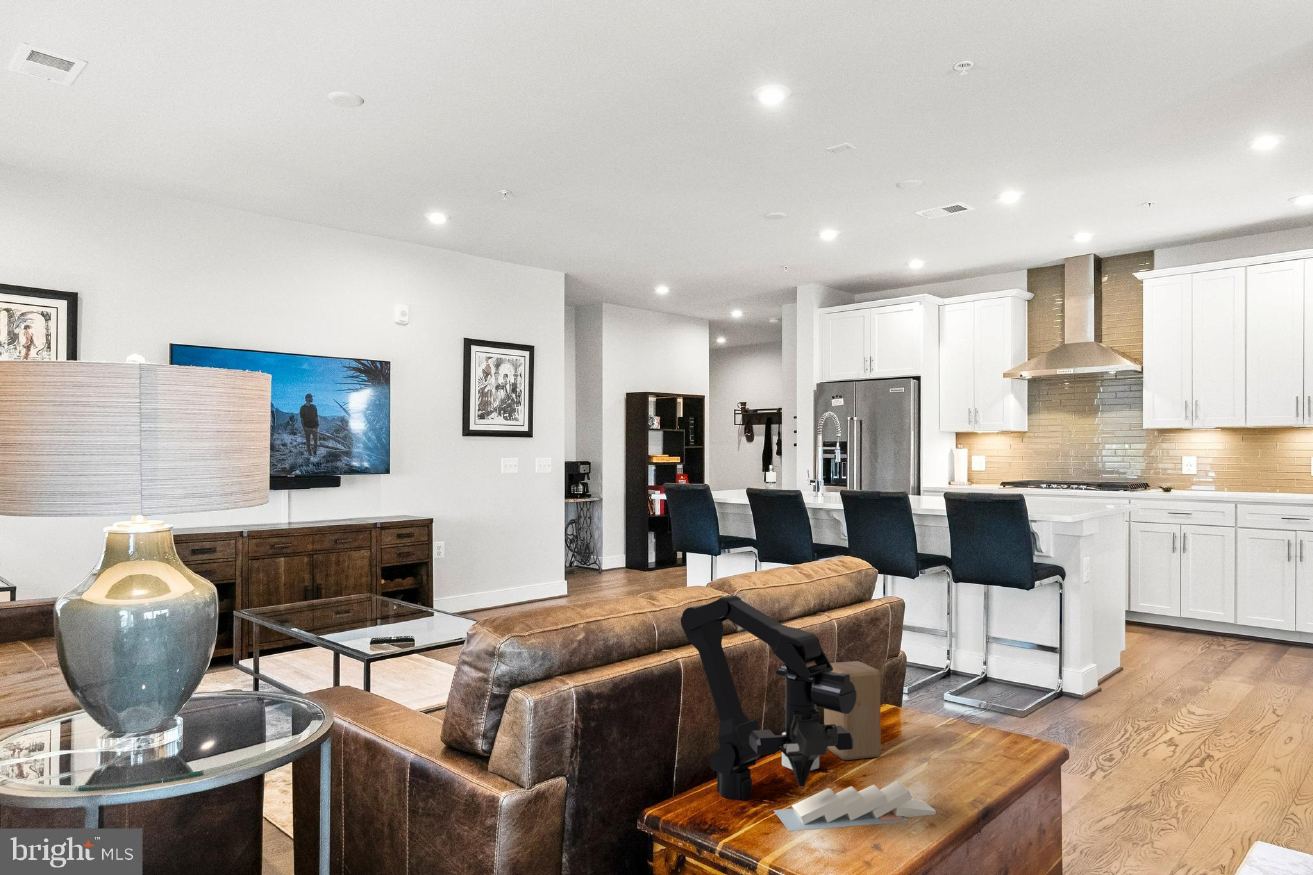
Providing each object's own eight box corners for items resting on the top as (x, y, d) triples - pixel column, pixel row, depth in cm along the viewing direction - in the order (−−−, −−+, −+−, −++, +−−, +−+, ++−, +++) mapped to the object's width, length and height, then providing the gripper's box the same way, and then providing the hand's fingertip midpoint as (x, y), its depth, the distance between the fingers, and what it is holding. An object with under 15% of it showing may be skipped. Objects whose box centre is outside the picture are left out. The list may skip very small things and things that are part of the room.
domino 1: (800, 816, 150) (839, 798, 152) (791, 805, 155) (829, 787, 156) (803, 824, 150) (842, 806, 152) (794, 813, 155) (831, 795, 157)
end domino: (897, 806, 153) (936, 811, 155) (885, 796, 158) (923, 800, 160) (896, 815, 153) (934, 819, 155) (884, 804, 158) (921, 808, 160)
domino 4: (872, 811, 153) (909, 790, 154) (861, 800, 158) (897, 780, 159) (876, 818, 153) (912, 798, 154) (864, 807, 158) (900, 787, 159)
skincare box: (781, 765, 182) (781, 732, 182) (800, 759, 186) (799, 727, 186) (801, 774, 177) (801, 739, 178) (820, 767, 181) (820, 734, 181)
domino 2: (824, 814, 151) (862, 796, 152) (814, 803, 156) (851, 785, 157) (827, 822, 151) (865, 804, 152) (817, 811, 156) (854, 793, 157)
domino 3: (847, 812, 152) (885, 794, 153) (837, 801, 157) (873, 784, 158) (850, 820, 152) (888, 802, 153) (839, 809, 157) (876, 791, 158)
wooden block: (843, 762, 184) (842, 672, 185) (822, 747, 194) (822, 662, 195) (882, 757, 187) (881, 669, 188) (860, 743, 197) (859, 659, 197)
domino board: (789, 836, 148) (789, 829, 148) (773, 815, 156) (773, 809, 156) (907, 826, 152) (907, 820, 152) (885, 806, 160) (885, 800, 161)
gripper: (766, 717, 144) (766, 807, 143) (866, 712, 147) (866, 800, 147) (748, 699, 155) (748, 783, 154) (841, 694, 158) (841, 776, 158)
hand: (801, 786), depth 153 cm, fingers closed
